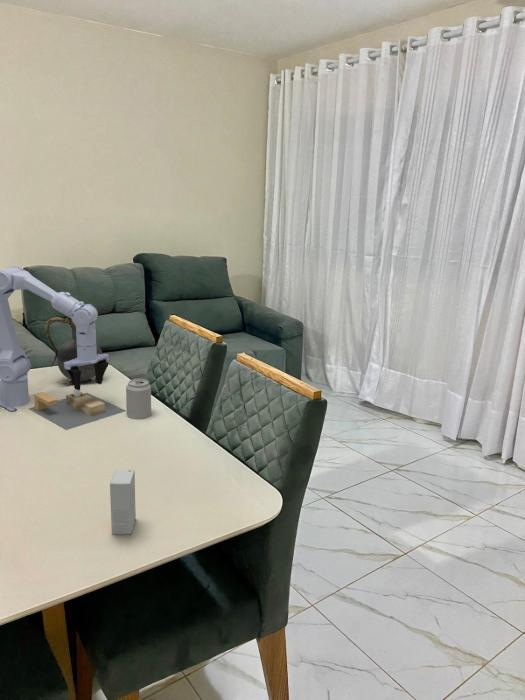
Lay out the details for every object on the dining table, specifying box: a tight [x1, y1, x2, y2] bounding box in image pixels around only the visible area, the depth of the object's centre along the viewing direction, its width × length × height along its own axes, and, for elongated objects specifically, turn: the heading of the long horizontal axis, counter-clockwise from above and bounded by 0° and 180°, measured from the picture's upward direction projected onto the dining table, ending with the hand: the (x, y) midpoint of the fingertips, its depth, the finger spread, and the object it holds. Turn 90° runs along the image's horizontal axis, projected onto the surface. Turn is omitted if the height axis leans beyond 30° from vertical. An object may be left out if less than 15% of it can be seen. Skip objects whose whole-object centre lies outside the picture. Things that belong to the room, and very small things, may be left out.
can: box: [125, 378, 152, 420], centre depth 168 cm, size 8×8×12 cm
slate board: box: [28, 388, 127, 431], centre depth 170 cm, size 22×21×6 cm
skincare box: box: [109, 468, 137, 535], centre depth 113 cm, size 6×4×12 cm
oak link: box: [65, 391, 105, 417], centre depth 171 cm, size 14×5×3 cm, turn 50°
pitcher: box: [44, 316, 104, 386], centre depth 192 cm, size 11×19×30 cm, turn 107°
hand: (88, 386), depth 170 cm, fingers open, 7 cm apart
